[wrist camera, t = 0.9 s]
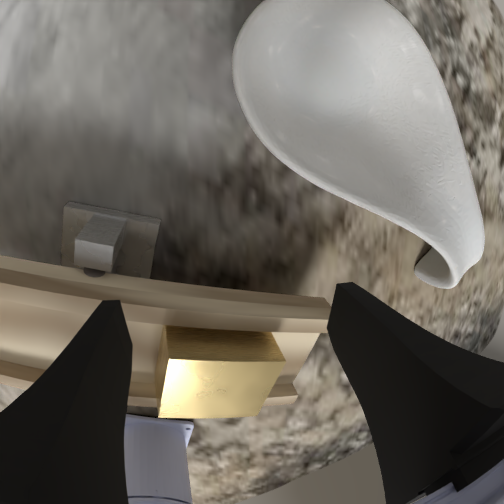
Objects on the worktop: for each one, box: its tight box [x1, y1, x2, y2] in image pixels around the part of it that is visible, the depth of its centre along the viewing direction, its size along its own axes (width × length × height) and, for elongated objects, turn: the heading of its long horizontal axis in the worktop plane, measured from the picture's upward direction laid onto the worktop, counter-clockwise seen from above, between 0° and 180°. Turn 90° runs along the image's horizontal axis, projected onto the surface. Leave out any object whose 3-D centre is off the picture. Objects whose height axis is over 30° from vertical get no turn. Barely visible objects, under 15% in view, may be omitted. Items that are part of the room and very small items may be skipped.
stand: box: [61, 201, 161, 279], centre depth 18 cm, size 12×6×5 cm, turn 163°
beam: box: [0, 255, 331, 407], centre depth 15 cm, size 8×28×3 cm, turn 73°
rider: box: [154, 325, 286, 418], centre depth 16 cm, size 5×6×3 cm
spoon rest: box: [232, 0, 485, 289], centre depth 16 cm, size 24×12×7 cm, turn 43°
